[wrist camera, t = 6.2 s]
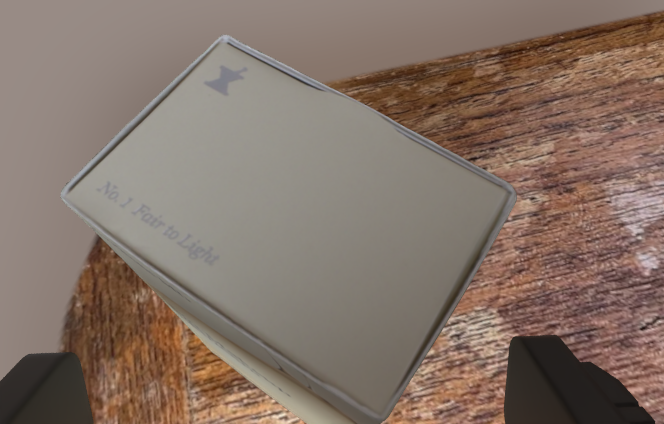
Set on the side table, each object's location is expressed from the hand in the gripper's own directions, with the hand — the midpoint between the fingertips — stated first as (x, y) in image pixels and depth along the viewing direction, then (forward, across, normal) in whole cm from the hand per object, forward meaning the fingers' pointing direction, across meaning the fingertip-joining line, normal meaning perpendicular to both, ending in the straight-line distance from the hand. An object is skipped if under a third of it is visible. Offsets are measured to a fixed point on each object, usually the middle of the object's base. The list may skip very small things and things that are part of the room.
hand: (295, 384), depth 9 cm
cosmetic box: (+8, 0, +5) cm, 10 cm away
